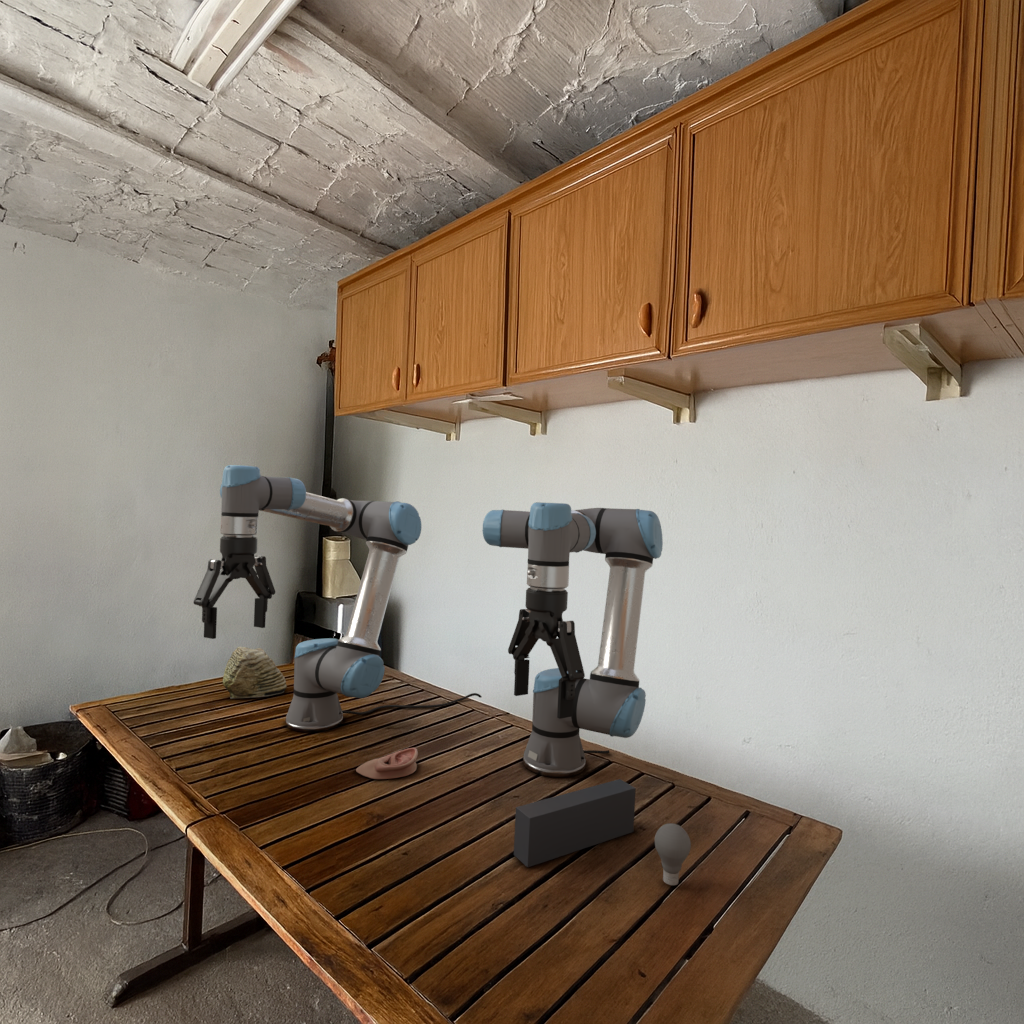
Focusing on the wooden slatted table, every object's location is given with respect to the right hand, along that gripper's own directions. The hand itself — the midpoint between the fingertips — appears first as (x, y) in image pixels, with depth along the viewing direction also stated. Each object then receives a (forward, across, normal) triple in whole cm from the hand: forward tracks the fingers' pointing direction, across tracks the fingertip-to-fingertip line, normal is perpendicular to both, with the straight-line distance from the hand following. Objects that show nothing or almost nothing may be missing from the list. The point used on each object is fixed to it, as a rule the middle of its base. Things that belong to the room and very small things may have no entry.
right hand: (541, 705), depth 114 cm
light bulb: (+28, +18, +16) cm, 36 cm away
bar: (+28, 0, +10) cm, 29 cm away
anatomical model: (+28, -46, -10) cm, 55 cm away
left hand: (-5, -57, -42) cm, 71 cm away
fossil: (+28, -116, -26) cm, 122 cm away
